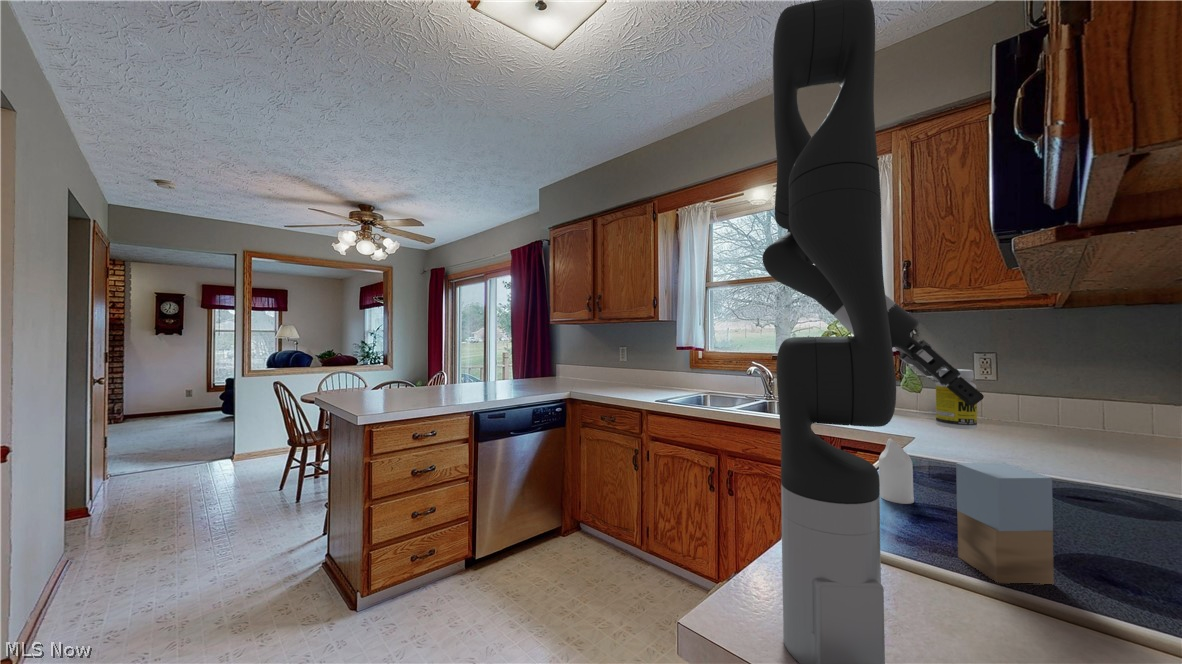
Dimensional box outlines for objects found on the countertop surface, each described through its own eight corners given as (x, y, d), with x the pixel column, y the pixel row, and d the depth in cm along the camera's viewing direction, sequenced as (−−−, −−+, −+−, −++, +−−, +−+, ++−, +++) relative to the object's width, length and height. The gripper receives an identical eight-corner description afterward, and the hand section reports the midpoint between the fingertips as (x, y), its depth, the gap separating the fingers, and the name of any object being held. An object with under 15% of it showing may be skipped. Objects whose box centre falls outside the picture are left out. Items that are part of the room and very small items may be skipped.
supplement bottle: (961, 430, 63) (960, 371, 63) (928, 424, 68) (927, 368, 68) (985, 428, 65) (984, 370, 65) (951, 422, 69) (950, 368, 69)
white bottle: (920, 441, 87) (896, 443, 86) (921, 502, 87) (897, 505, 86) (892, 434, 93) (870, 436, 92) (893, 492, 93) (871, 494, 92)
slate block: (1052, 530, 59) (1052, 477, 59) (999, 531, 59) (998, 478, 59) (1004, 509, 66) (1004, 462, 66) (956, 510, 66) (956, 462, 66)
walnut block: (1053, 584, 59) (1052, 531, 59) (996, 583, 60) (995, 530, 60) (1008, 558, 66) (1007, 510, 66) (958, 556, 66) (957, 509, 67)
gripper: (899, 298, 64) (1013, 386, 58) (889, 304, 76) (981, 378, 70) (856, 335, 66) (962, 424, 60) (853, 336, 79) (940, 409, 73)
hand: (972, 399), depth 65 cm, fingers closed on supplement bottle, 4 cm apart
